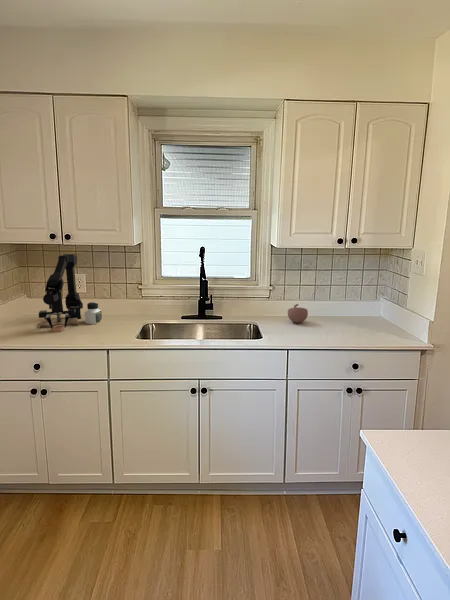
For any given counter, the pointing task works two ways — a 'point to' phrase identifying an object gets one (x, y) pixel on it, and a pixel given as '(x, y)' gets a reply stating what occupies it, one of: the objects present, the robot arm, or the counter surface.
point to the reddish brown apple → (297, 314)
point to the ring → (58, 328)
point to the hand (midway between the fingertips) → (58, 328)
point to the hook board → (59, 322)
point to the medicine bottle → (93, 314)
